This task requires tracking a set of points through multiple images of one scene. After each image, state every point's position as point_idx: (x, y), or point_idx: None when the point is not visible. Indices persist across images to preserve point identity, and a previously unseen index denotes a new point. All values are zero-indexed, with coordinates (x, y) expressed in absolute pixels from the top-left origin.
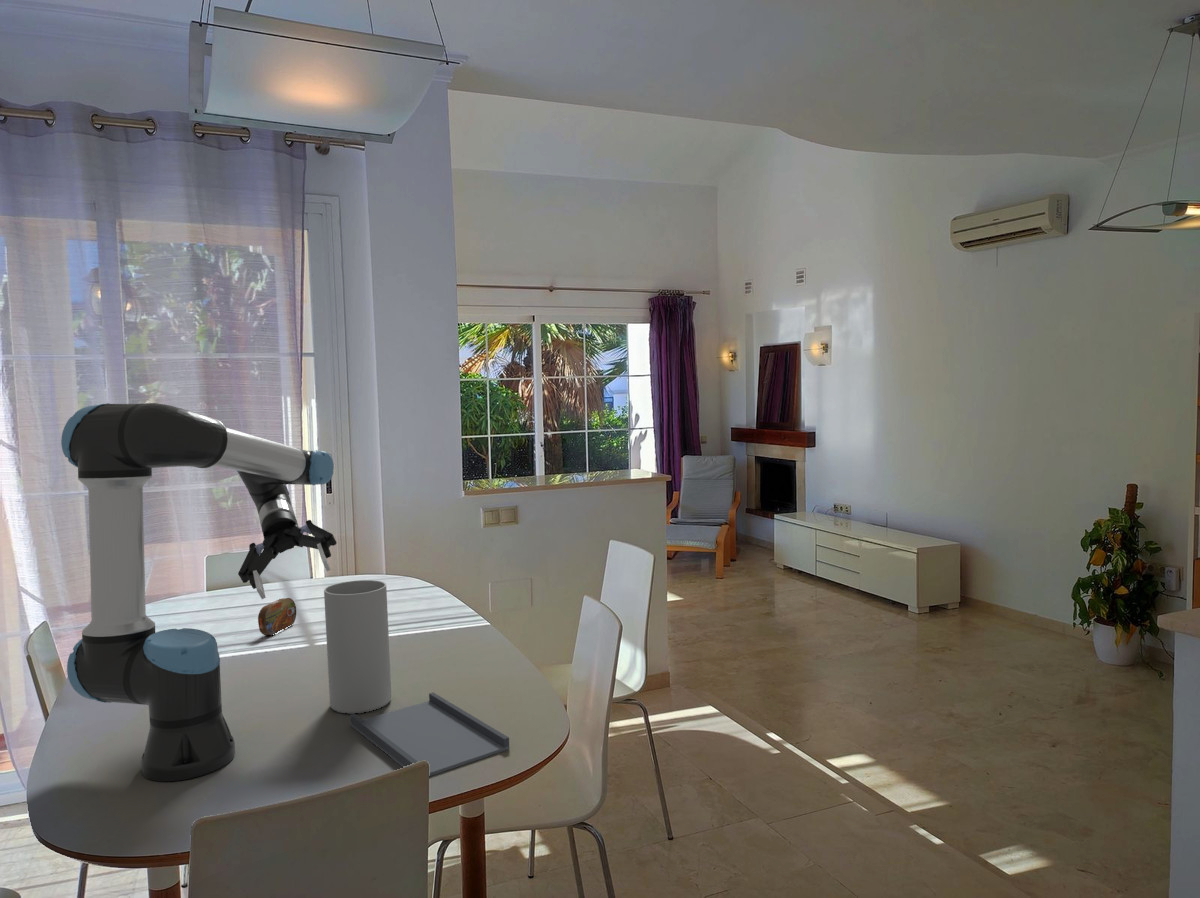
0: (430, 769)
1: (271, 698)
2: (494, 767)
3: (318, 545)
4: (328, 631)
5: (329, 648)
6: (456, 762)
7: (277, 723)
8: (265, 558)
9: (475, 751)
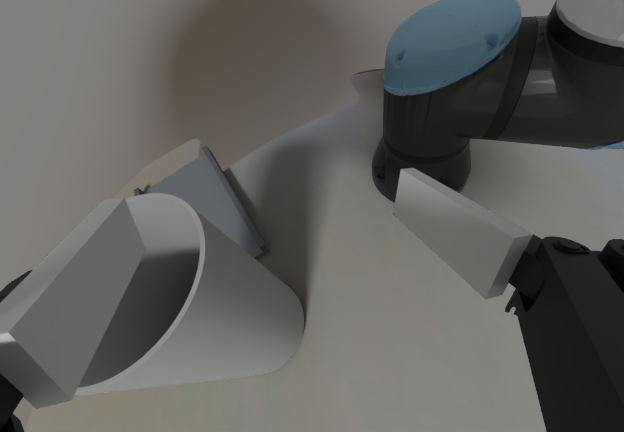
0: (200, 159)
1: (419, 376)
2: (160, 170)
3: (13, 313)
4: (250, 258)
5: (264, 269)
6: (181, 169)
7: (362, 263)
8: (587, 400)
9: (164, 185)
